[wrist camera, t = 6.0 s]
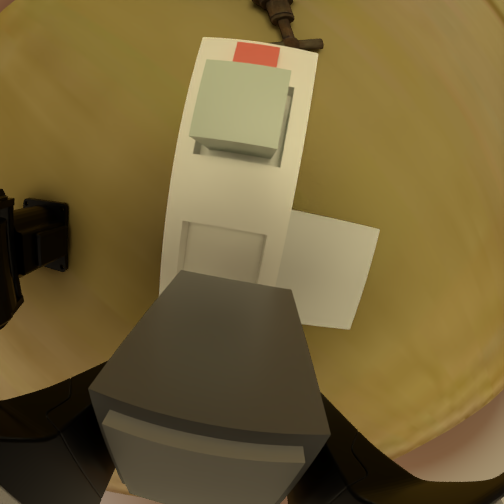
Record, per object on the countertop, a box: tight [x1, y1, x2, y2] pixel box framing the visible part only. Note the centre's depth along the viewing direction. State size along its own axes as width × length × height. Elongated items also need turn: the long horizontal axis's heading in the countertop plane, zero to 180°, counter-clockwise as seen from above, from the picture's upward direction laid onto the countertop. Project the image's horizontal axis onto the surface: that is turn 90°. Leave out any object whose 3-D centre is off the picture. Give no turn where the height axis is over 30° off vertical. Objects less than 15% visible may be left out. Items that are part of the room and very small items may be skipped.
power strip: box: [159, 37, 318, 296], centre depth 18 cm, size 22×8×4 cm, turn 170°
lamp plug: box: [189, 59, 291, 159], centre depth 15 cm, size 4×4×6 cm
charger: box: [88, 270, 331, 504], centre depth 8 cm, size 4×4×7 cm
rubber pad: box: [275, 209, 380, 329], centre depth 21 cm, size 8×9×1 cm
